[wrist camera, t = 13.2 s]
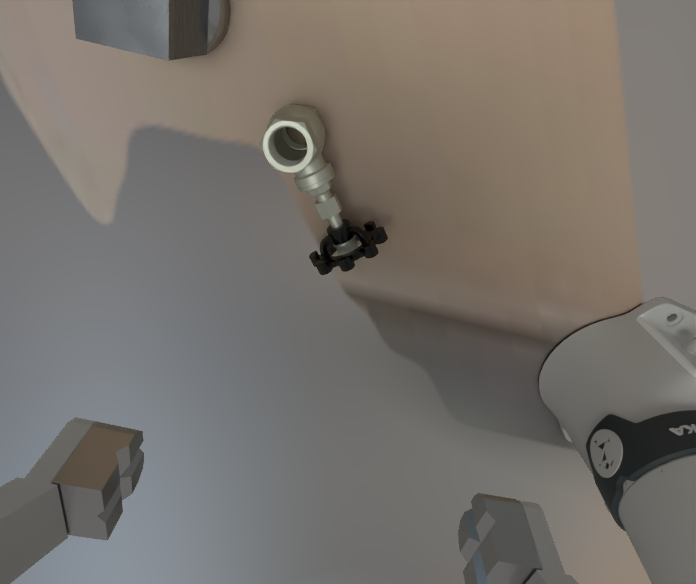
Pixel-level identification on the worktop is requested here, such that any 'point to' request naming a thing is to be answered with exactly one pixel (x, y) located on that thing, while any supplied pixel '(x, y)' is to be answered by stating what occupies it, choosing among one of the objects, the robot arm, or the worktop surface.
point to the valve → (318, 186)
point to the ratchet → (217, 22)
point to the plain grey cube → (145, 26)
